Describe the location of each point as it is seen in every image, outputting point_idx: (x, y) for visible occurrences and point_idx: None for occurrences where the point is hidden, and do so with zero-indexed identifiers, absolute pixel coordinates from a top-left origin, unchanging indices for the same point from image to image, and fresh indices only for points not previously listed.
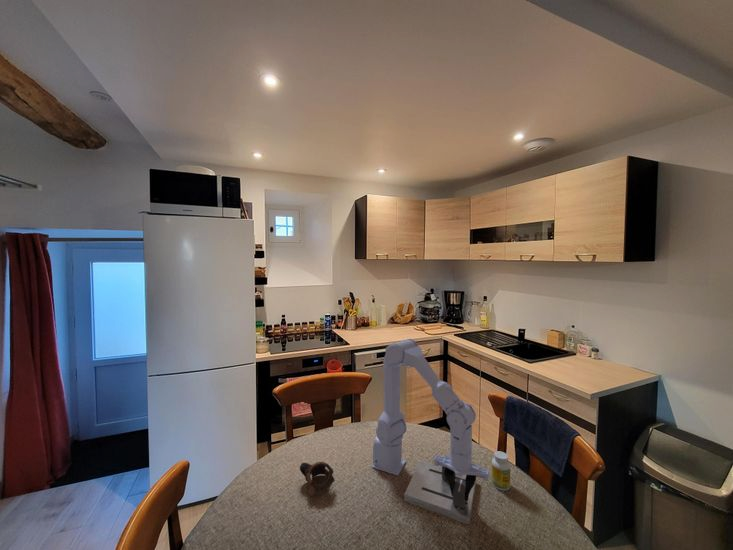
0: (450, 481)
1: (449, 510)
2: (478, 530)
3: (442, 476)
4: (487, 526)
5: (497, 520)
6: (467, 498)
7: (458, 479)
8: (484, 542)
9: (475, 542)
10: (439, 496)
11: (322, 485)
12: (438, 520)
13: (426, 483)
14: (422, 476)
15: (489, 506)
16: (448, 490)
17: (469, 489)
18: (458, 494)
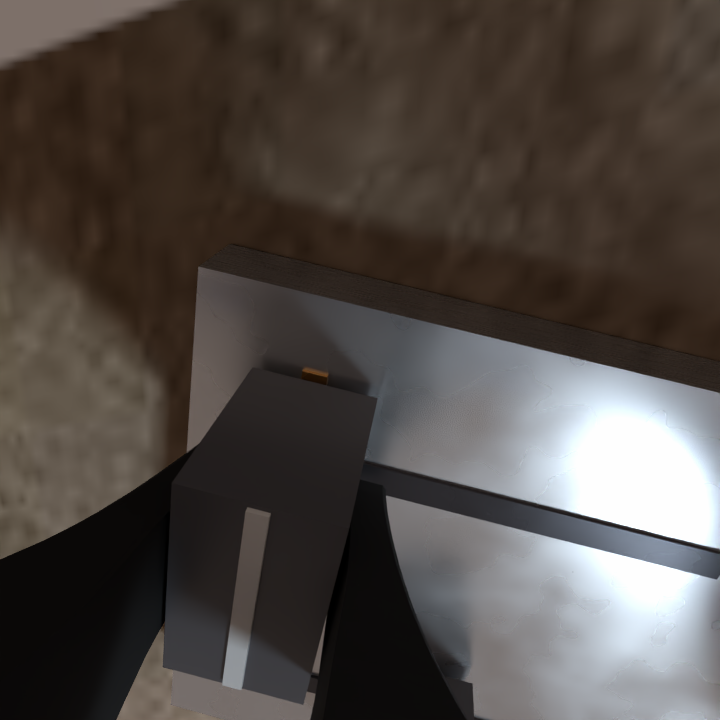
0: (383, 660)
1: (425, 319)
2: (142, 196)
3: (466, 700)
4: (71, 265)
5: (3, 347)
6: (184, 457)
7: (273, 689)
8: (74, 52)
9: (160, 20)
10: (525, 486)
11: None
12: (555, 225)
13: (650, 622)
14: (678, 691)
15: (80, 470)
16: (415, 564)
17: (66, 542)
18: (278, 474)
